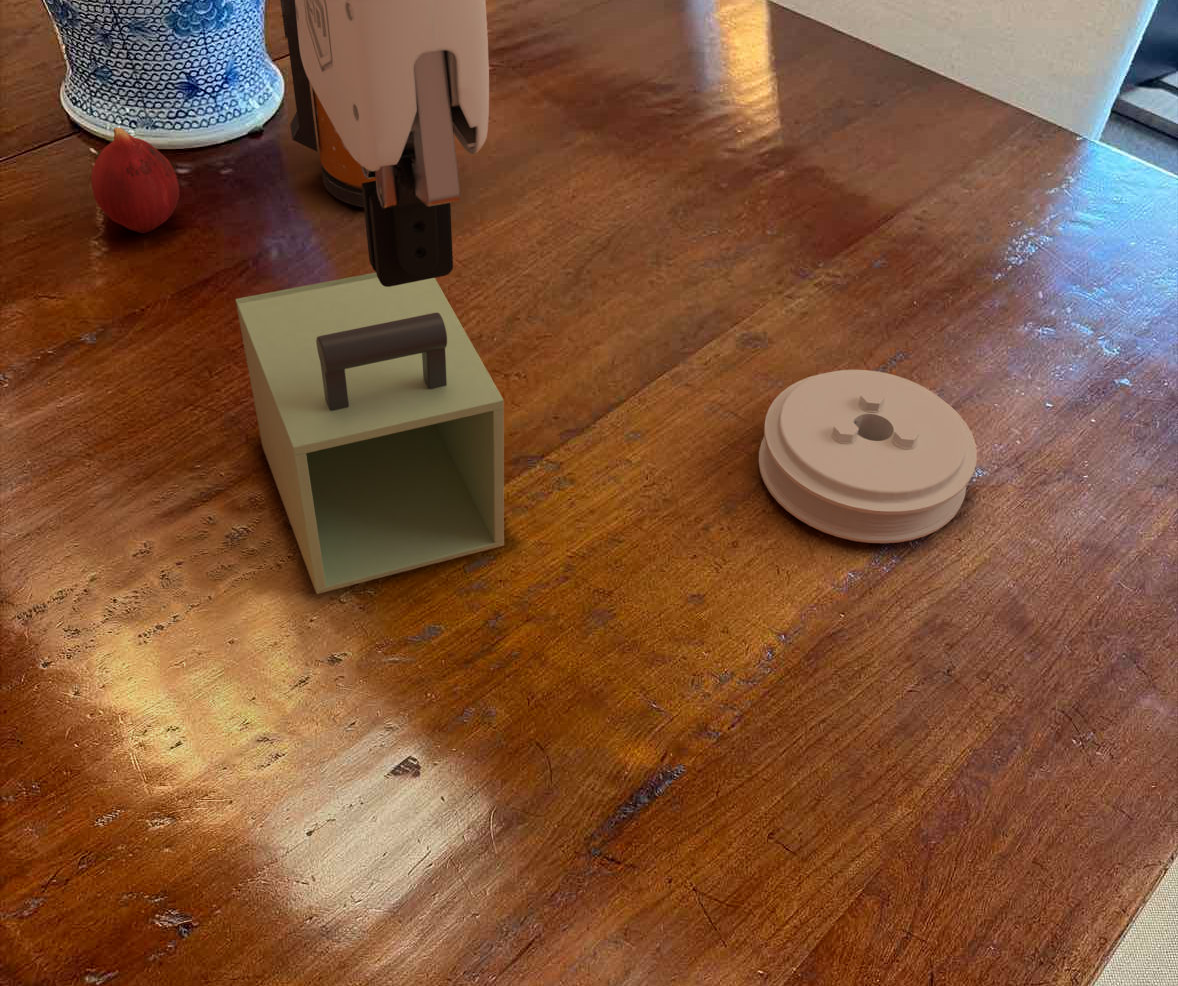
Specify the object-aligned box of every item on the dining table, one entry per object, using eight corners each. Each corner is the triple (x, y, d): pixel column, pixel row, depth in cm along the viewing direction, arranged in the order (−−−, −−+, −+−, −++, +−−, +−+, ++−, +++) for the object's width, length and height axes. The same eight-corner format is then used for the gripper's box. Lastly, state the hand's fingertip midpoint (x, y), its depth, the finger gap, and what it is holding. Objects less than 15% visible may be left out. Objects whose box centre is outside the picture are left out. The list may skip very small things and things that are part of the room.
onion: (195, 212, 97) (175, 110, 91) (176, 256, 93) (154, 153, 87) (117, 207, 97) (91, 105, 91) (94, 251, 93) (66, 148, 87)
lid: (718, 494, 79) (729, 431, 75) (814, 389, 86) (828, 327, 83) (908, 586, 75) (929, 524, 71) (993, 467, 82) (1016, 405, 78)
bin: (504, 548, 75) (504, 334, 64) (316, 597, 72) (282, 381, 61) (434, 410, 83) (423, 198, 72) (262, 448, 80) (223, 233, 69)
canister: (448, 211, 98) (438, -64, 84) (300, 223, 97) (262, -57, 82) (432, 151, 104) (420, -117, 90) (292, 160, 102) (255, -112, 88)
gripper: (211, -276, 45) (282, 197, 59) (321, -123, 36) (375, 395, 50) (418, -290, 47) (441, 169, 61) (571, -149, 38) (558, 355, 52)
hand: (411, 270), depth 55 cm, fingers closed
